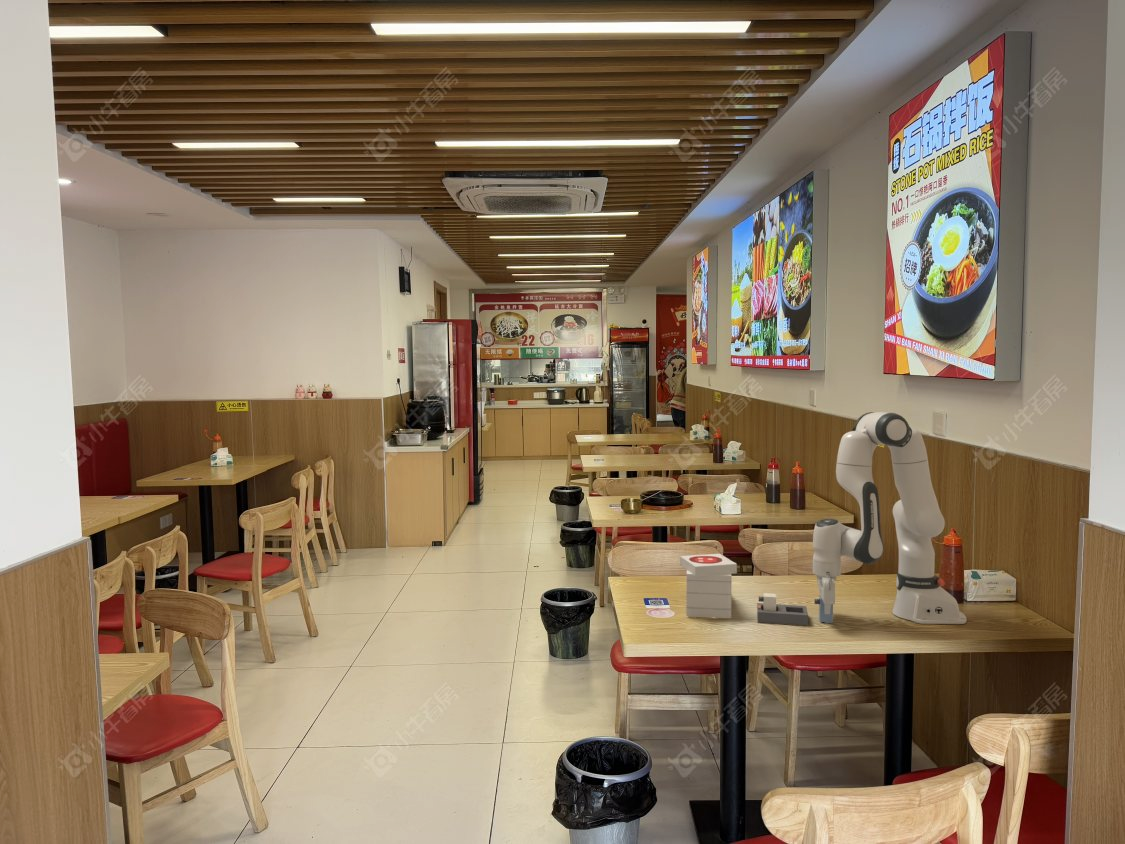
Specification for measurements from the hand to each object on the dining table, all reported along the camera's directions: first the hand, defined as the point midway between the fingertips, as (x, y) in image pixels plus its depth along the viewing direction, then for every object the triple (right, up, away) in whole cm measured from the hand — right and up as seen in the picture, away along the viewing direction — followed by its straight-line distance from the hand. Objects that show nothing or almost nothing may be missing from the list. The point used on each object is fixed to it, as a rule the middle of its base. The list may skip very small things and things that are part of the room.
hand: (825, 609), depth 254 cm
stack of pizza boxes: (-36, -3, +17) cm, 40 cm away
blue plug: (0, -4, 0) cm, 4 cm away
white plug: (-18, -4, +4) cm, 18 cm away
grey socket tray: (-14, -4, +3) cm, 15 cm away
